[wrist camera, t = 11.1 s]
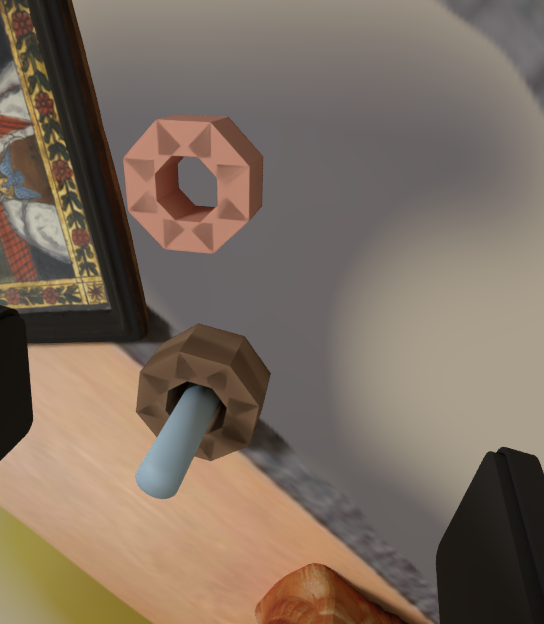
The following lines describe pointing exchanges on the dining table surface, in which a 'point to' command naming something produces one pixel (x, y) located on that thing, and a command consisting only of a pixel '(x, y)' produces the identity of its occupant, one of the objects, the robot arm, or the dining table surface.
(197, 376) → the bead
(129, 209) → the pink octagonal nut
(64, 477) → the dining table surface
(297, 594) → the ceramic vessel
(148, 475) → the dowel
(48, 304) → the religious icon
